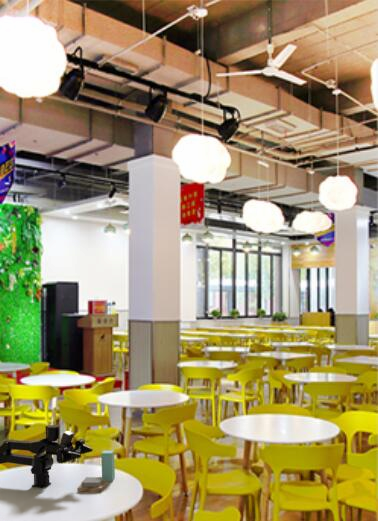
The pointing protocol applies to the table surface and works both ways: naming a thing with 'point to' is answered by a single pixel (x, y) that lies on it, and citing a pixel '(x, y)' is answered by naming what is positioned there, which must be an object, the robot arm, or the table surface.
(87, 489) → the walnut slab
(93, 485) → the charcoal tile
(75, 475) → the table surface
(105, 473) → the teal pillar
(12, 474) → the table surface
